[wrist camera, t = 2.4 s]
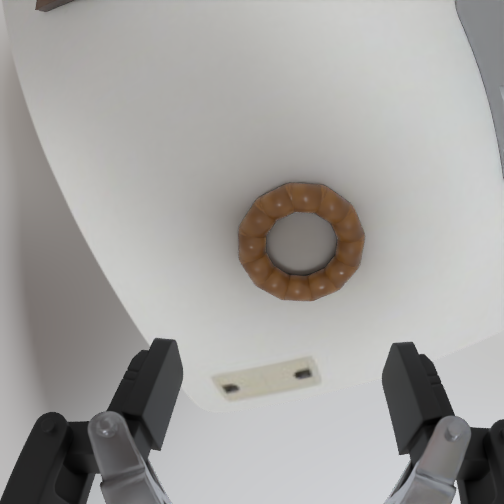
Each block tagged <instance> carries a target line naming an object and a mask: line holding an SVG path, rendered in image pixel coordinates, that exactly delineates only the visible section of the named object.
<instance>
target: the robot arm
mask: <svg viewBox="0 0 504 504" xmlns="http://www.w3.org/2000/svg"><path fill="white" fill-rule="evenodd" d="M182 380H183V367H182V362H181V358H180V354H179V350H178V346H177V342H176V340H173V339H162V338H155V339H154V341H153V343H152V345H151V347H150V349H149V351H148V350H141V352H139V353H138V354H137V355H136V356H135V357H134V358H133V359H132V361H131V363H130V365H129V367H128V370H127V371H126V373H125V375H124V377H123V379H122V381H121V383H120V385H119V387H118V389H117V391H116V393H115V395H114V397H113V399H112V401H111V404H110V406H109V407H108V409H107V411H105V412H101V413H99V414H97V415H95V416H94V417H93V418H92V419H91V420H90V421H86V422H67V421H66V419H65V418H64V417H63V416H62V415H61V414H59V413H56V412H49V413H46V414H43V415H42V416H41V417H39V418H38V420H37V421H36V423H35V425H34V427H33V429H32V431H31V433H30V435H29V437H28V439H27V441H26V443H25V445H24V447H23V449H22V451H21V453H20V456H19V458H18V460H17V462H16V465H15V467H14V469H13V471H12V474H11V476H10V478H9V481H8V483H7V485H6V488H5V490H4V493H3V495H2V498H1V500H0V504H86V502H87V499H88V496H89V493H90V489H91V486H92V483H93V480H94V477H95V474H96V473H97V474H101V476H102V480H103V481H102V482H101V483H100V487H101V491H102V494H103V496H104V499H105V502H106V504H172V502H171V501H170V499H169V497H168V496H167V494H166V492H165V490H164V488H163V486H162V485H161V483H160V481H159V479H158V477H157V475H156V473H155V471H154V469H153V467H152V465H151V463H150V461H149V459H148V456H149V453H150V450H151V449H153V450H158V451H160V450H161V447H162V444H163V441H164V437H165V434H166V431H167V428H168V425H169V421H170V418H171V415H172V412H173V409H174V406H175V403H176V399H177V396H178V393H179V390H180V387H181V384H182ZM382 385H383V389H384V393H385V396H386V401H387V404H388V408H389V412H390V416H391V421H392V425H393V428H394V433H395V437H396V442H397V446H398V451H399V455H403V454H410V459H411V460H410V461H409V463H408V464H407V466H406V468H405V470H404V472H403V473H402V475H401V477H400V479H399V480H398V482H397V484H396V485H395V487H394V489H393V490H392V492H391V494H390V495H389V497H388V498H387V500H386V501H385V503H384V504H451V503H452V500H453V498H454V496H455V493H456V487H454V482H455V480H457V484H458V489H459V495H460V501H461V504H504V419H503V420H499V421H497V422H495V423H494V424H493V426H492V427H491V428H473V427H470V426H469V425H468V423H467V422H466V421H465V420H464V419H462V418H460V417H457V416H455V414H454V412H453V409H452V407H451V404H450V402H449V399H448V397H447V394H446V392H445V390H444V388H443V385H442V384H441V380H440V378H439V376H438V375H437V371H436V369H435V366H434V364H433V362H432V361H431V360H430V359H429V358H428V357H427V356H426V355H425V354H420V355H419V354H418V352H417V350H416V347H415V345H414V343H413V342H401V343H393V344H392V346H391V348H390V352H389V355H388V358H387V361H386V363H385V366H384V369H383V373H382Z"/></svg>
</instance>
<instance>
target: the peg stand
mask: <svg viewBox="0 0 504 504" xmlns="http://www.w3.org/2000/svg"><path fill="white" fill-rule="evenodd" d="M70 1H73V0H37V2H36V9H35V10H39V11H43V12H47V11H49V10H51V9H53V8H56V7H58V6H60V5H63V4H65V3H68V2H70Z"/></svg>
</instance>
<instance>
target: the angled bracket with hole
mask: <svg viewBox="0 0 504 504" xmlns="http://www.w3.org/2000/svg"><path fill="white" fill-rule="evenodd" d="M456 9H457V13H458V16H459V18H460V20H461V23H462V25H463V27H464V30H465V32H466V34H467V37H468V39H469V42H470V45H471V47H472V50H473V52H474V55H475V58H476V61H477V64H478V67H479V70H480V73H481V76H482V79H483V82H484V86H485V89H486V93H487V96H488V100H489V104H490V108H491V112H492V116H493V120H494V125H495V129H496V134H497V139H498V145H499V150H500V156H501V163H502V170H503V178H504V0H456Z"/></svg>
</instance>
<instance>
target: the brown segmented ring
mask: <svg viewBox="0 0 504 504" xmlns="http://www.w3.org/2000/svg"><path fill="white" fill-rule="evenodd" d="M294 212H301V213H315V214H317V215H318V216H320V217H321V218H323V219H325V220H326V221H328V222H329V223H331V225H332V227H333V230H334V232H335V234H336V236H337V238H338V240H337V247H336V254H335V256H334V257H333V258H332V260H331V261H330V262H329V263H328V265H327V266H326V267H325V268H324V269H322V270H319V271H317V272H315V273H312V274H310V275H308V276H306V275H289V274H287V273H285V272H284V271H282V270H280V269H278V268H277V267H275V266H274V265H273V263H272V262H271V260H270V258H269V257H268V255H267V253H266V235H267V234H268V233H269V231H270V230H271V228H272V227H273V225H274V224H275V222H276V221H277V220H279V219H281V218H283V217H286V216H288V215H290V214H292V213H294ZM364 240H365V233H364V230H363V228H362V225H361V223H360V221H359V218H358V216H357V213H356V211H355V209H354V207H353V205H352V204H351V203H350V202H348V201H347V200H346V199H344V198H343V197H341V196H340V195H338V194H337V193H335V192H334V191H332V190H331V189H329V188H328V187H326V186H324V185H319V184H303V183H287V184H285V185H283V186H281V187H279V188H277V189H275V190H273V191H271V192H269V193H267V194H265V195H263V196H261V197H259V198H258V199H256V201H255V202H254V203H253V205H252V207H251V208H250V210H249V211H248V213H247V214H246V216H245V218H244V219H243V221H242V222H241V224H240V226H239V231H238V245H239V260H240V262H241V264H242V266H243V267H244V269H245V270H246V272H247V273H248V275H249V277H250V278H251V280H252V281H253V283H254V284H255V285H256V286H257V287H259V288H261V289H262V290H264V291H266V292H268V293H270V294H272V295H273V296H275V297H277V298H279V299H281V300H292V301H314V300H317V299H319V298H321V297H324V296H326V295H328V294H331V293H333V292H336V291H338V290H340V289H341V288H342V287H343V286H344V284H345V283H346V282H347V281H348V280H349V279H350V277H351V276H352V275H353V274H354V273H355V271H356V270H357V269H358V268H359V266H360V263H361V258H362V252H363V246H364Z"/></svg>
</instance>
